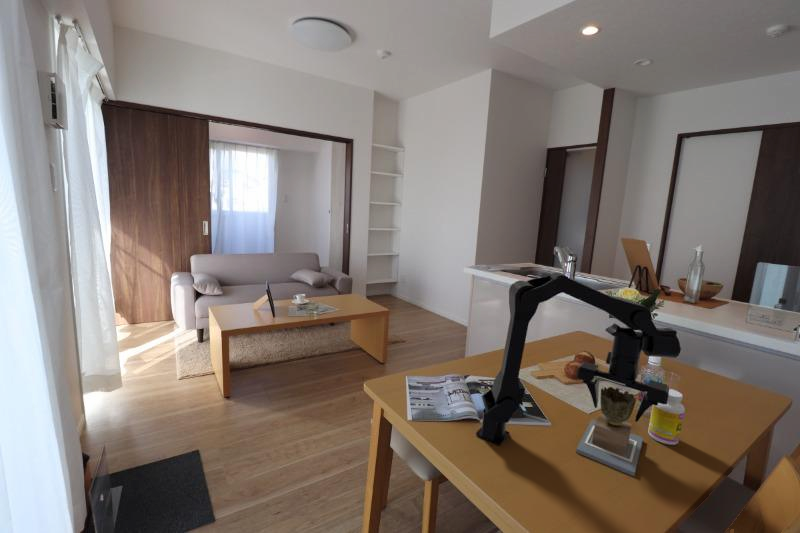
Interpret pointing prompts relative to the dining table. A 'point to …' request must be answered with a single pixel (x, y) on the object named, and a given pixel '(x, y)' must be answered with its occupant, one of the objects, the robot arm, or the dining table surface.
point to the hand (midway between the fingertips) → (615, 414)
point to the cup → (616, 406)
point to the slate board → (611, 452)
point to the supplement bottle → (667, 419)
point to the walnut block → (611, 435)
